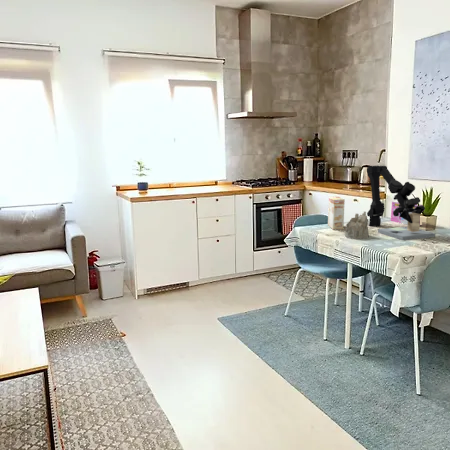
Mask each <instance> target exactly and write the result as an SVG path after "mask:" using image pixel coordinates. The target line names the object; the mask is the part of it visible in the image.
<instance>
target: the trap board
mask: <svg viewBox="0 0 450 450" xmlns="http://www.w3.org/2000/svg"><path fill="white" fill-rule="evenodd" d="M377 233H379V234H382V235H385V236H389V237H392V238H395V239H399V240H401V241H407V240H415V239H416V240H417V239H425V238H435V237H436V233H435V232H431V231H429V230H424V229H421V228H419V231H417V232H411V231H408V230H407V226H401V227H400V226H399V227H388V228H378V229H377Z"/></svg>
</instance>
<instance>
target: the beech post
mask: <svg viewBox="0 0 450 450" xmlns="http://www.w3.org/2000/svg"><path fill="white" fill-rule="evenodd" d="M409 216H410V218H411V220H412V222H413V223H410V222H408V225H406V227H407V230H408V231H411V232H417V231H419V229H420V227H421V226H420V214H417V213H409Z"/></svg>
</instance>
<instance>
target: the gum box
mask: <svg viewBox="0 0 450 450" xmlns="http://www.w3.org/2000/svg"><path fill="white" fill-rule="evenodd" d="M423 205H424V204H420V203H419V206H423ZM417 206H418V205H417V204H416V205H415V207H413V208H416V207H417ZM397 207H399V203H398V201H391V210H390V211H391V213H390V221H391V222H395V223H398V222H399V224H402V223H403V225H406V224H407V225H406V226H408V221H407V220H405V219H403V218H402V217H399V216H400V213H399V216H394V215H393V211H394V210H395V209H396V208H397ZM409 213H412V212H409Z"/></svg>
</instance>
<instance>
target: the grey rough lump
mask: <svg viewBox="0 0 450 450" xmlns="http://www.w3.org/2000/svg"><path fill="white" fill-rule="evenodd" d="M368 223H369V219H368V216H367V212H366V211H363V213H361V214H359V213H355V215H354V217H351V219H350V220H349V221H348V222H347V223H346V224H345V226H346V227H345V229H346V230H345V232H344V238H348V239H352V240H353V239H354V240H358V239H366V238H369V237H370V233H369V224H368Z"/></svg>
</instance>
